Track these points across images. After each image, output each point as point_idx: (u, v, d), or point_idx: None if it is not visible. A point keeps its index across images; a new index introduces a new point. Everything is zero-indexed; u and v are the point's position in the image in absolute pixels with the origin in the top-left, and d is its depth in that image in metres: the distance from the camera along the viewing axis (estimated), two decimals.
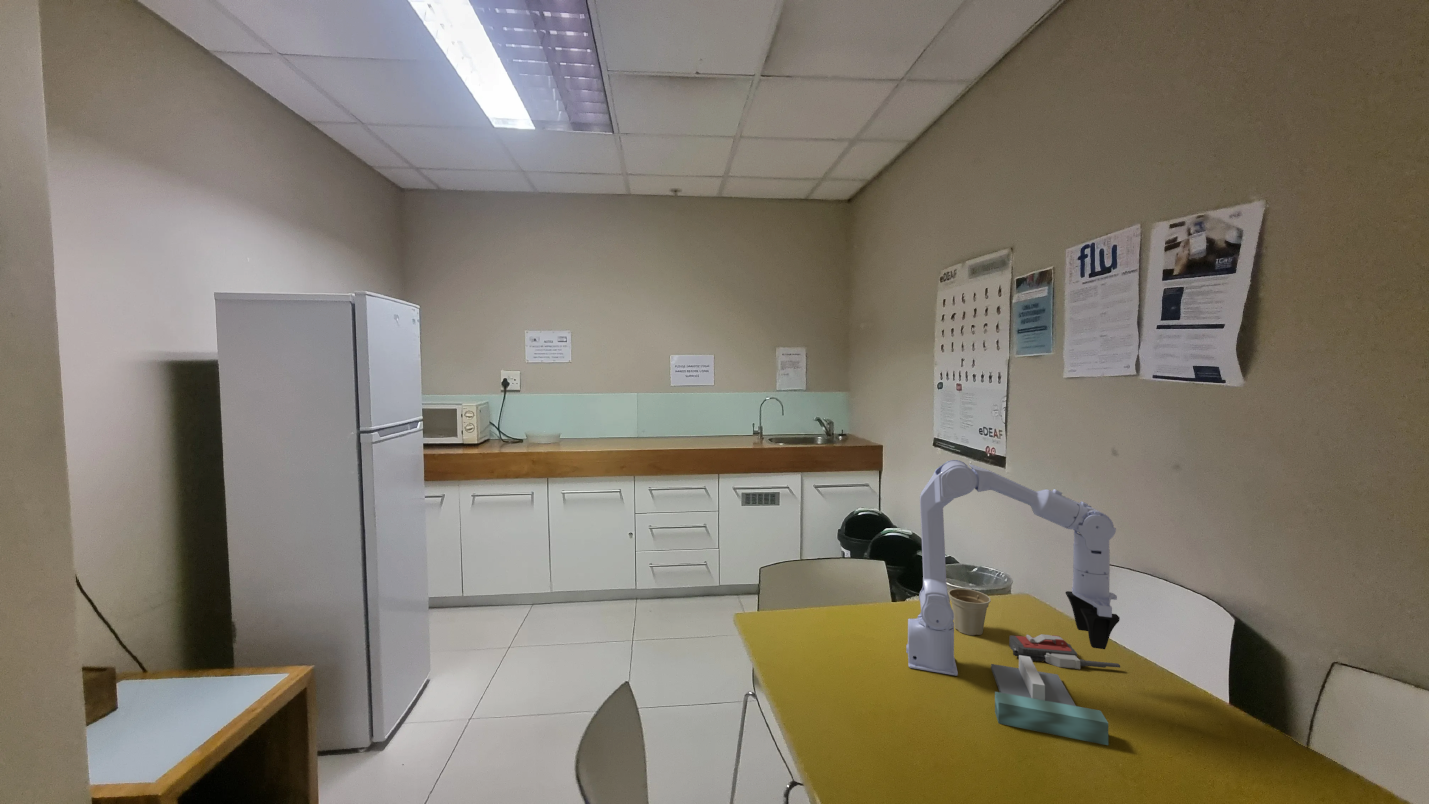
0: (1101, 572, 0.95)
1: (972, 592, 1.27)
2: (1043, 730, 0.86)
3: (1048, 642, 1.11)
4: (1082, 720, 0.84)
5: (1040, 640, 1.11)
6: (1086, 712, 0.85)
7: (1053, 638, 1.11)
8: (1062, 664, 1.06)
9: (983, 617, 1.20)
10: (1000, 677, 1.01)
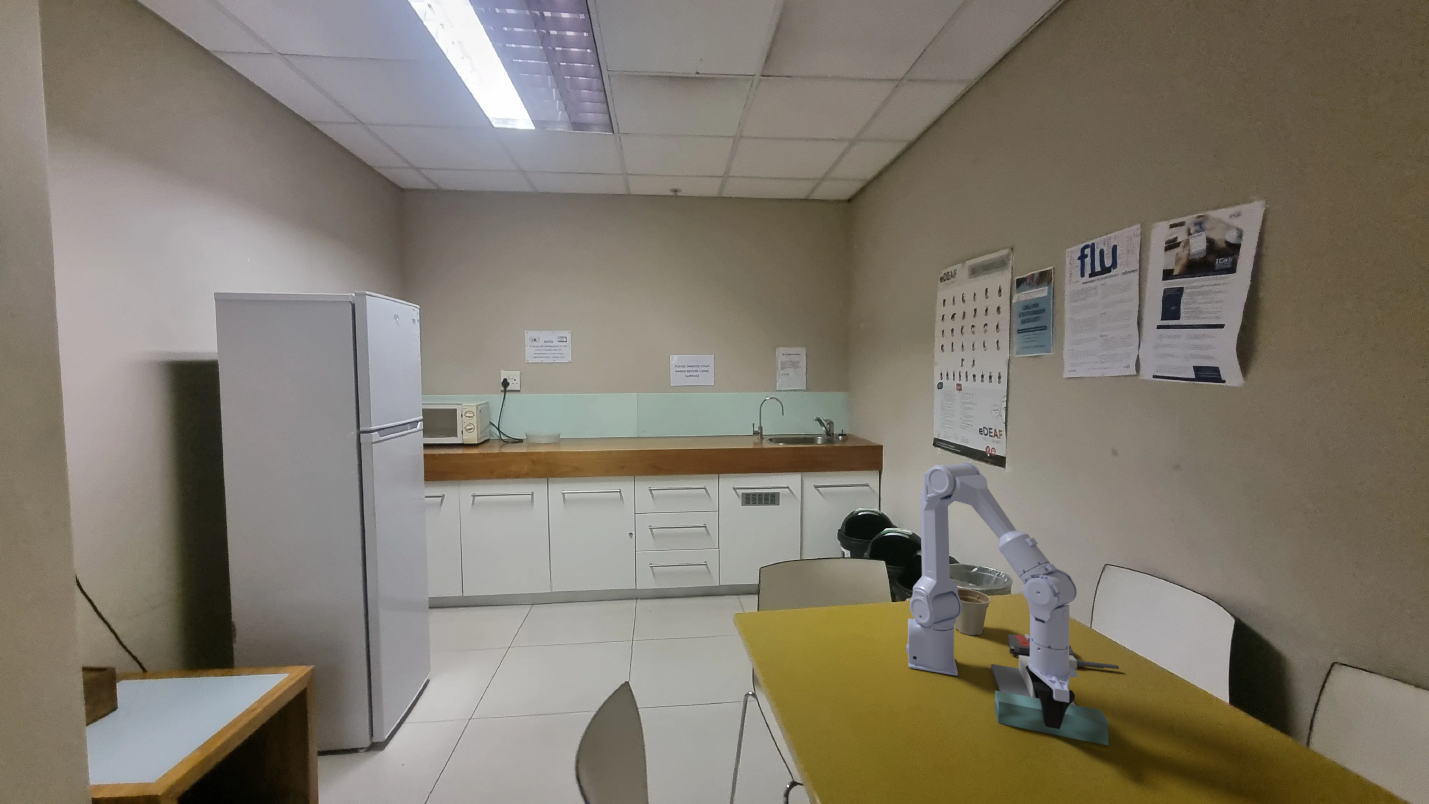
0: (1044, 644, 0.85)
1: (972, 592, 1.27)
2: (1043, 729, 0.86)
3: None
4: (1083, 719, 0.84)
5: None
6: (1086, 711, 0.85)
7: None
8: None
9: (983, 617, 1.20)
10: (1000, 677, 1.01)
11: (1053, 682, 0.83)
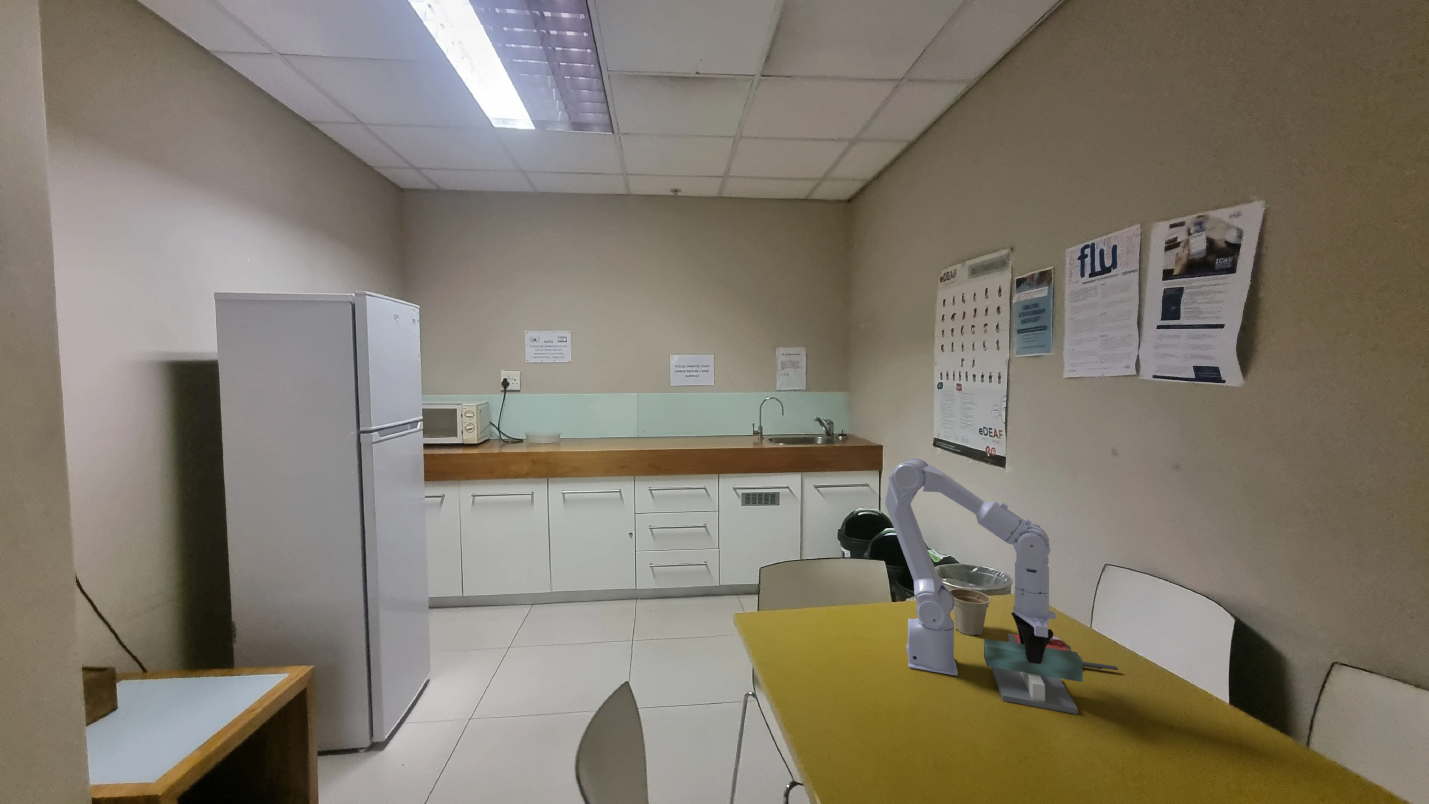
0: (1036, 591, 0.95)
1: (972, 592, 1.27)
2: (1026, 669, 0.97)
3: None
4: (1060, 659, 0.95)
5: None
6: (1064, 653, 0.96)
7: None
8: None
9: (983, 617, 1.20)
10: (1000, 677, 1.01)
11: (1034, 621, 0.94)
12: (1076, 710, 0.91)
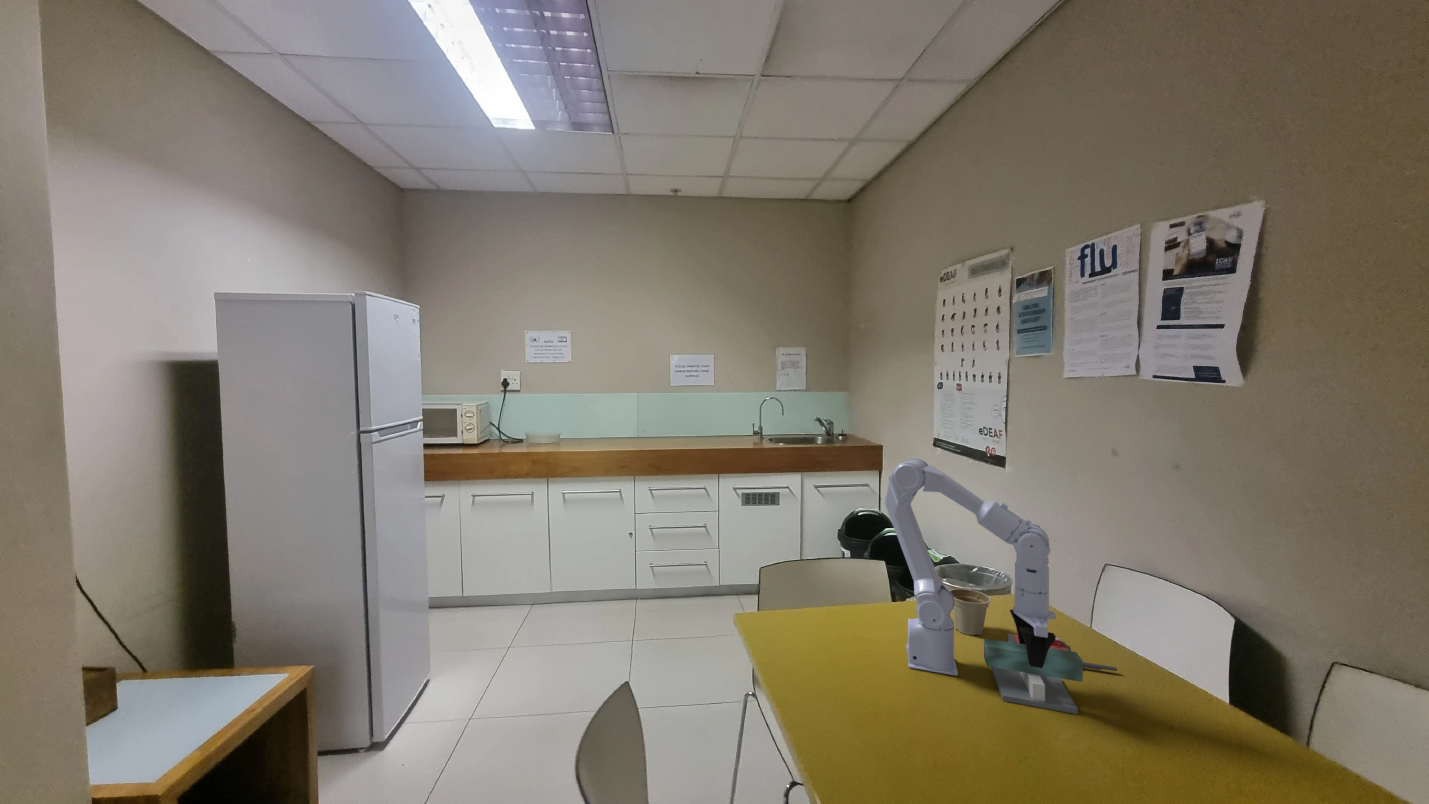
0: (1036, 591, 0.95)
1: (972, 592, 1.27)
2: (1026, 669, 0.97)
3: None
4: (1060, 659, 0.95)
5: None
6: (1064, 653, 0.96)
7: None
8: None
9: (983, 617, 1.20)
10: (1000, 677, 1.01)
11: (1034, 621, 0.94)
12: (1076, 710, 0.91)
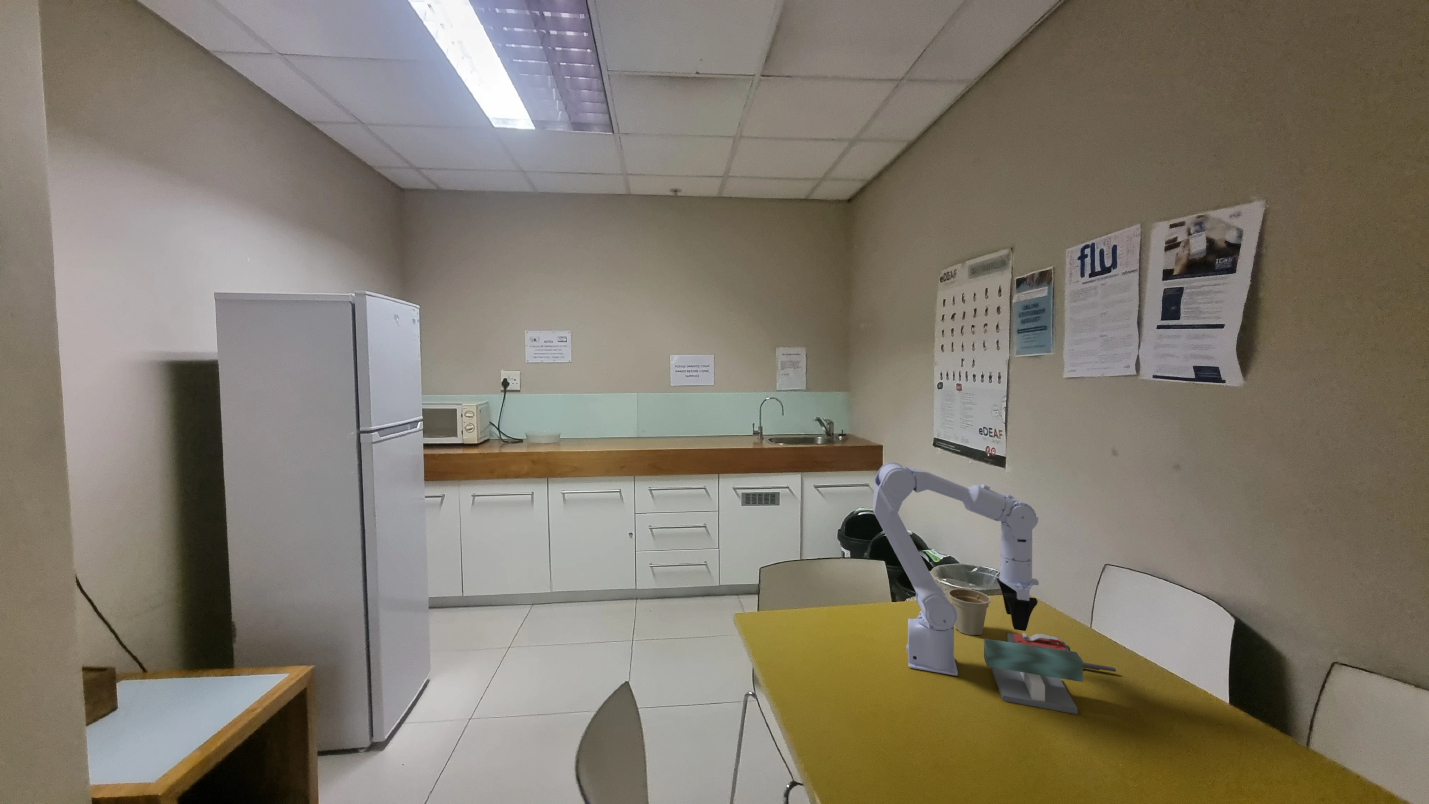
0: (1026, 559, 1.02)
1: (972, 592, 1.27)
2: (1026, 669, 0.97)
3: (1044, 642, 1.12)
4: (1060, 659, 0.95)
5: (1035, 638, 1.12)
6: (1064, 653, 0.96)
7: (1048, 638, 1.11)
8: None
9: (983, 617, 1.20)
10: (1000, 677, 1.01)
11: (1017, 587, 1.01)
12: (1076, 710, 0.91)
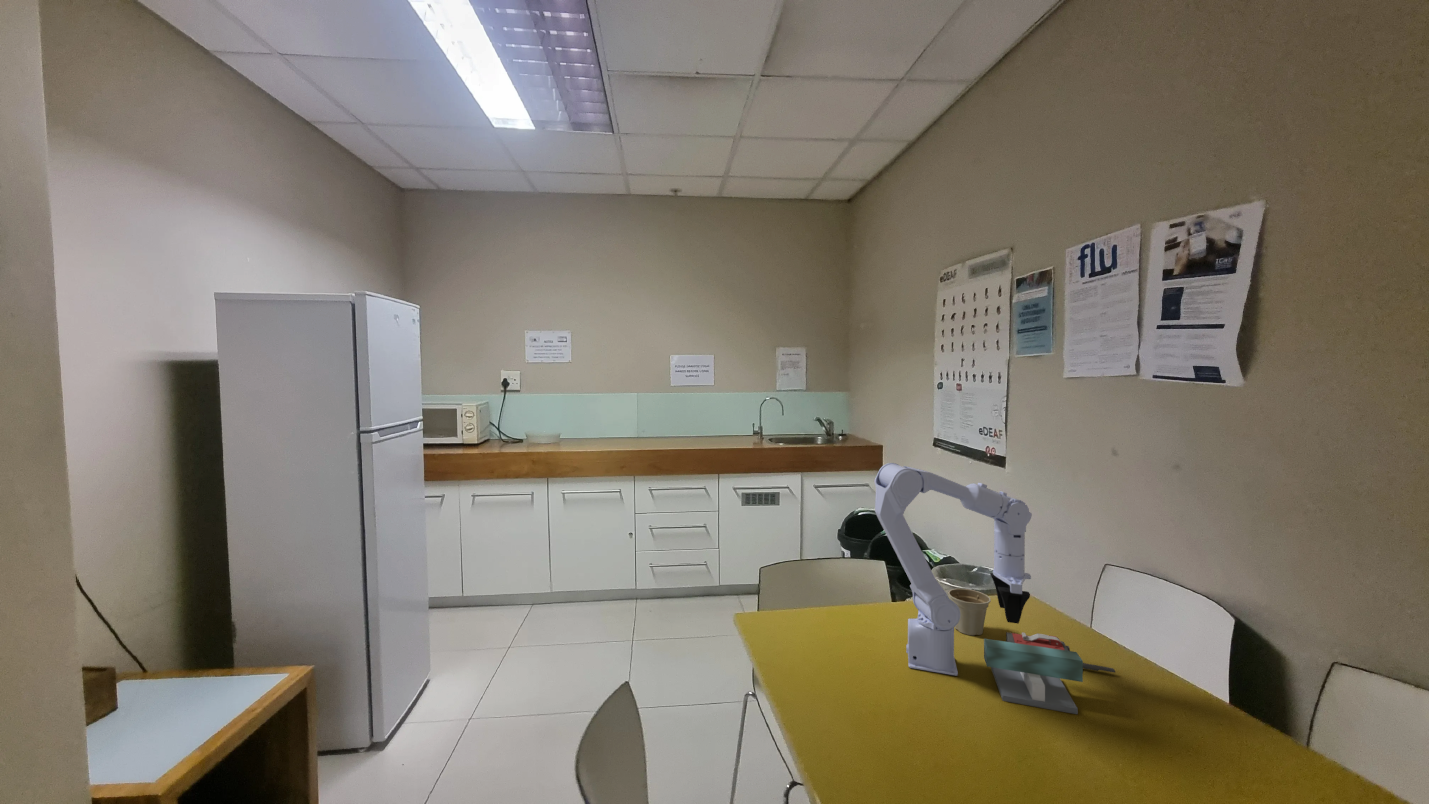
0: (1020, 554, 1.05)
1: (972, 592, 1.27)
2: (1026, 669, 0.97)
3: (1043, 642, 1.12)
4: (1060, 659, 0.95)
5: (1034, 638, 1.12)
6: (1064, 653, 0.96)
7: (1048, 638, 1.11)
8: None
9: (983, 617, 1.20)
10: (1000, 677, 1.01)
11: (1010, 581, 1.04)
12: (1076, 710, 0.91)
